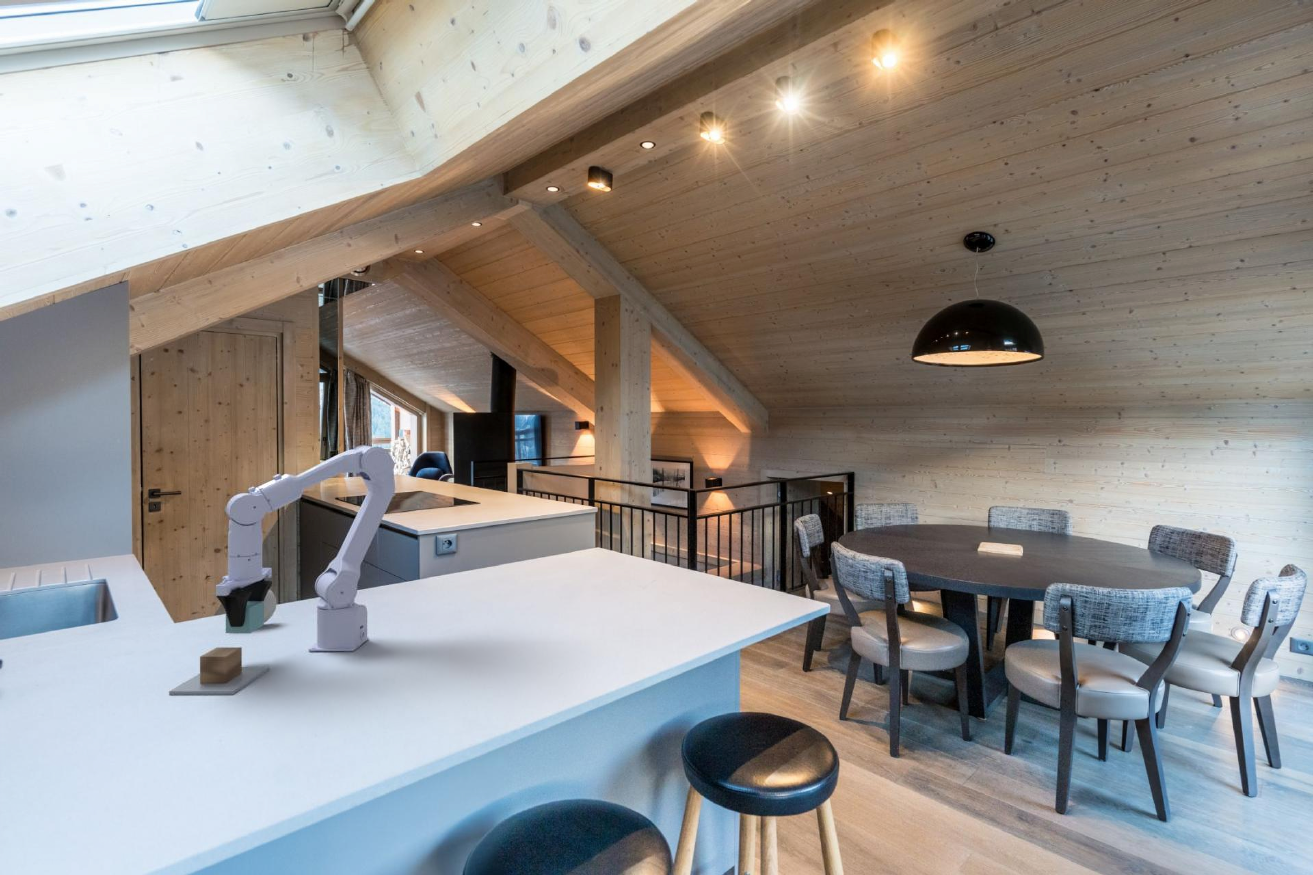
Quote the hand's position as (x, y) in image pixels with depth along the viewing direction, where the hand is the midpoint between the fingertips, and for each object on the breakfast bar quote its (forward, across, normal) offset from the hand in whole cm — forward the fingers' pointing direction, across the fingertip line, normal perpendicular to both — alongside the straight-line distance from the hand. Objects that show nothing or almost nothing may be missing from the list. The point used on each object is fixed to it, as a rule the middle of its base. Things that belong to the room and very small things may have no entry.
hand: (245, 622), depth 124 cm
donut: (+9, -22, -12) cm, 27 cm away
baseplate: (+8, +8, +1) cm, 12 cm away
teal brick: (+2, 0, 0) cm, 2 cm away
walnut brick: (+8, +8, +1) cm, 12 cm away
